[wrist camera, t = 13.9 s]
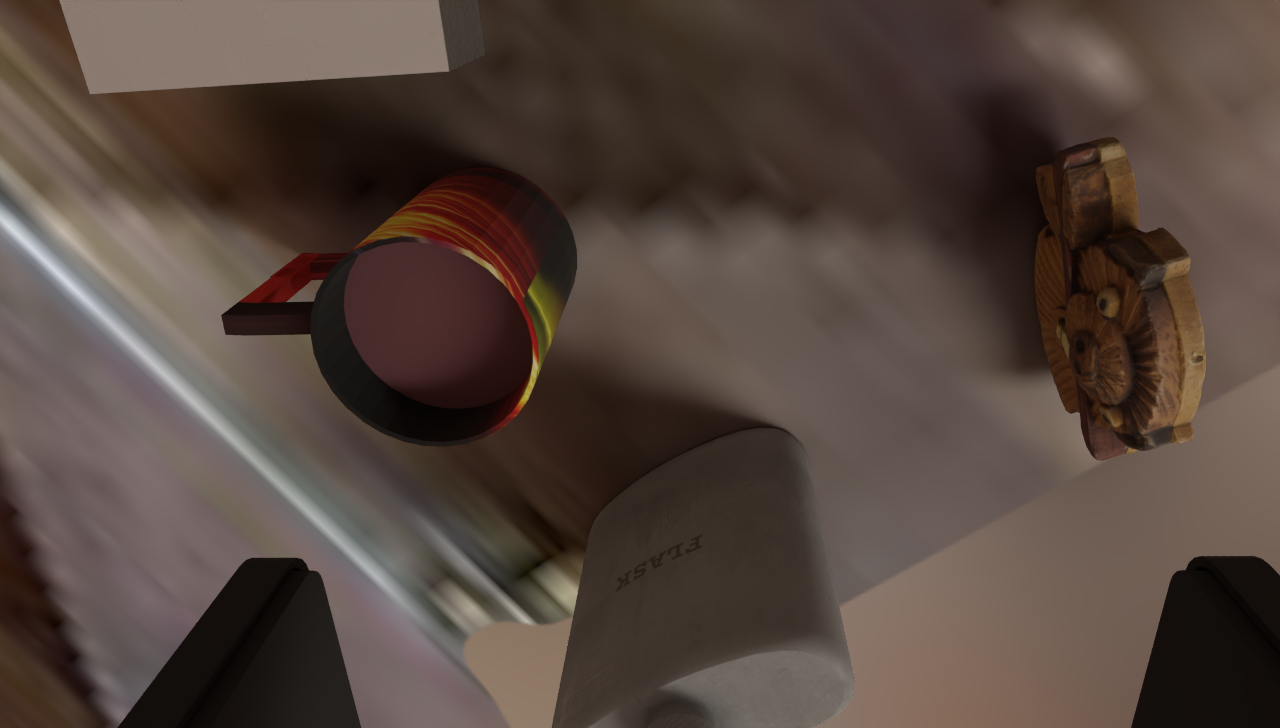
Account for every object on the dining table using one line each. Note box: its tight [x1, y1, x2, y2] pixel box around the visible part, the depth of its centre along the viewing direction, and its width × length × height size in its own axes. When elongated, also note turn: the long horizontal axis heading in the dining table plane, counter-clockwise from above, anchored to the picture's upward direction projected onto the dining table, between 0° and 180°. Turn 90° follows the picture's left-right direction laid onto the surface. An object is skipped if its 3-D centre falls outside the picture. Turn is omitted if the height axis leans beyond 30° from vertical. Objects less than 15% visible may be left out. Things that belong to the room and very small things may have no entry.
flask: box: [552, 428, 854, 728], centre depth 43 cm, size 15×6×20 cm, turn 126°
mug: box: [221, 167, 577, 447], centre depth 42 cm, size 10×14×12 cm
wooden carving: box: [1034, 137, 1206, 461], centre depth 40 cm, size 16×5×10 cm, turn 21°
